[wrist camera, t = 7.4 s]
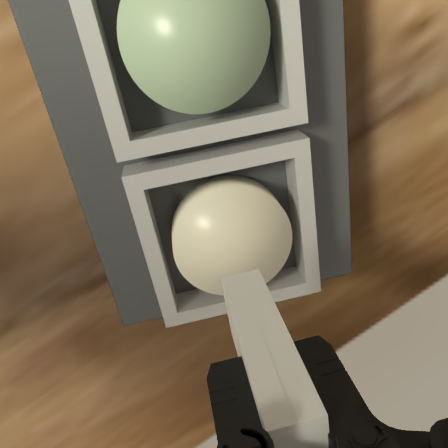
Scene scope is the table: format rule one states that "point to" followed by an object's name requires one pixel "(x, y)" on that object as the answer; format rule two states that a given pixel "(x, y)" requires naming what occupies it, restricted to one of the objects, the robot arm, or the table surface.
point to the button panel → (196, 149)
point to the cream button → (229, 232)
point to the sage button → (194, 50)
